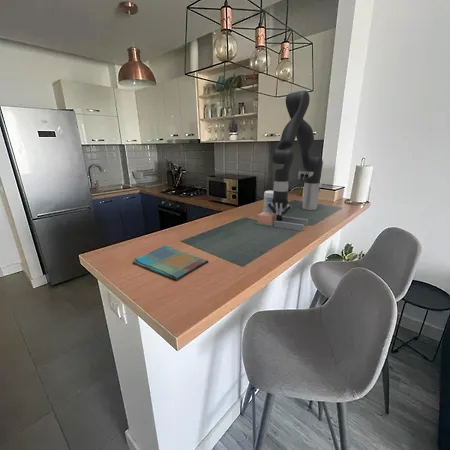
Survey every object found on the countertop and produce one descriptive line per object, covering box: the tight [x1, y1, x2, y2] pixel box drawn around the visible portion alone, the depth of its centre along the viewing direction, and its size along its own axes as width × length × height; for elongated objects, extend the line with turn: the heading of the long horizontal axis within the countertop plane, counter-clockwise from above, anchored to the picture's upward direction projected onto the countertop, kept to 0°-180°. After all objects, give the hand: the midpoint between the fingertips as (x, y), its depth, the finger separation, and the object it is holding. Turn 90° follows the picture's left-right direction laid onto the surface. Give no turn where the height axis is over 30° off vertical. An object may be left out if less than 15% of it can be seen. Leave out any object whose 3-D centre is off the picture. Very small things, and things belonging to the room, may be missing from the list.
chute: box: [273, 215, 309, 232], centre depth 132 cm, size 11×15×3 cm
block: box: [257, 211, 276, 225], centre depth 138 cm, size 7×8×5 cm
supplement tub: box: [262, 190, 276, 213], centre depth 148 cm, size 10×10×15 cm
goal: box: [255, 220, 277, 227], centre depth 138 cm, size 12×10×1 cm
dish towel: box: [132, 245, 209, 282], centre depth 93 cm, size 17×23×2 cm
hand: (279, 221), depth 135 cm, fingers closed
